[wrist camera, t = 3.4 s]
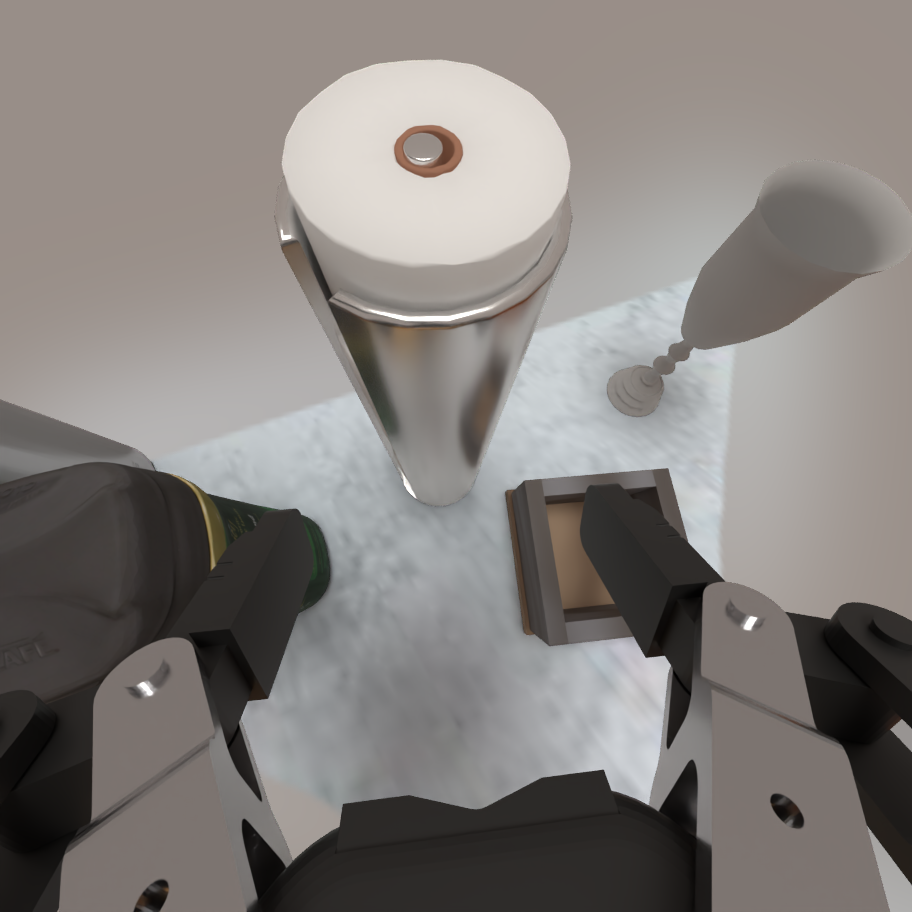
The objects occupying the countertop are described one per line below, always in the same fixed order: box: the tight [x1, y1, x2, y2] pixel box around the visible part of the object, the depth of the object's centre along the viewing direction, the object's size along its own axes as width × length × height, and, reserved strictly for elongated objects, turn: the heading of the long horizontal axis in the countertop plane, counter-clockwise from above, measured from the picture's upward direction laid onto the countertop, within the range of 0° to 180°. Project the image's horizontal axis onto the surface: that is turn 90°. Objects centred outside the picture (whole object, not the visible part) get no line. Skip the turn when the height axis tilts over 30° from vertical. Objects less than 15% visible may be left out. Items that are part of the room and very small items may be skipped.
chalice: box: [607, 160, 912, 417], centre depth 25 cm, size 7×7×18 cm
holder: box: [505, 468, 688, 646], centre depth 26 cm, size 11×11×6 cm
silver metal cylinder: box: [274, 60, 572, 506], centre depth 19 cm, size 6×6×25 cm
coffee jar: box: [0, 462, 330, 704], centre depth 19 cm, size 10×8×19 cm
